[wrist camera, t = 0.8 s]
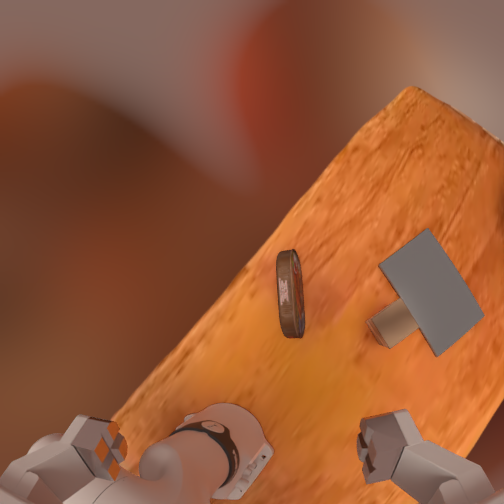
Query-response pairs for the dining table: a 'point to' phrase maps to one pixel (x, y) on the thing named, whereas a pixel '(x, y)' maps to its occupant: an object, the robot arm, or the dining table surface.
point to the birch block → (392, 324)
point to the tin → (290, 294)
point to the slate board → (432, 291)
